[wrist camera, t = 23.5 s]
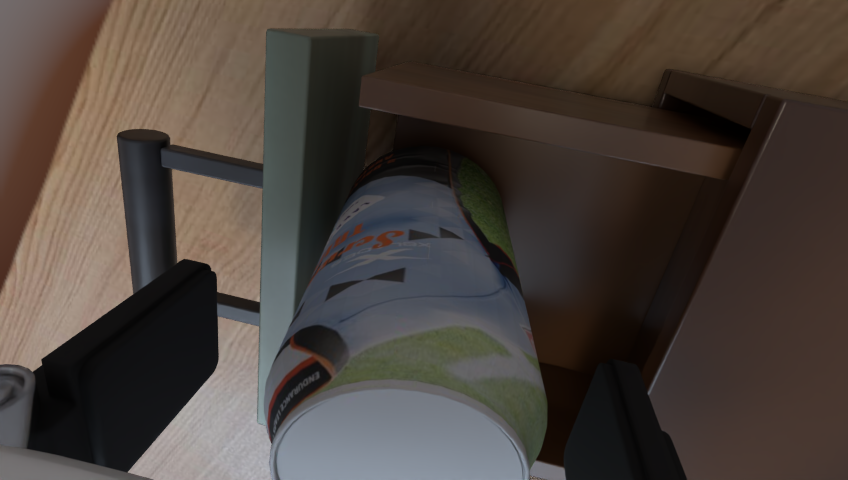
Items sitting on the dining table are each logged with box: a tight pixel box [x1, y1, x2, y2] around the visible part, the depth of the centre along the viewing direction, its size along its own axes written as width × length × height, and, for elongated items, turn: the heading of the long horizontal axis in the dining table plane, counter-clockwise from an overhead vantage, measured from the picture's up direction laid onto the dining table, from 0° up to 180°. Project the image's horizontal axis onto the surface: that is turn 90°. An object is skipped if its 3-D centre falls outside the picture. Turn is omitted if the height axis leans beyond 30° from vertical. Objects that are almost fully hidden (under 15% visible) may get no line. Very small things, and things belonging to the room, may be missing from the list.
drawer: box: [117, 28, 752, 480], centre depth 17 cm, size 19×13×7 cm
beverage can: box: [264, 146, 547, 480], centre depth 14 cm, size 6×7×12 cm
